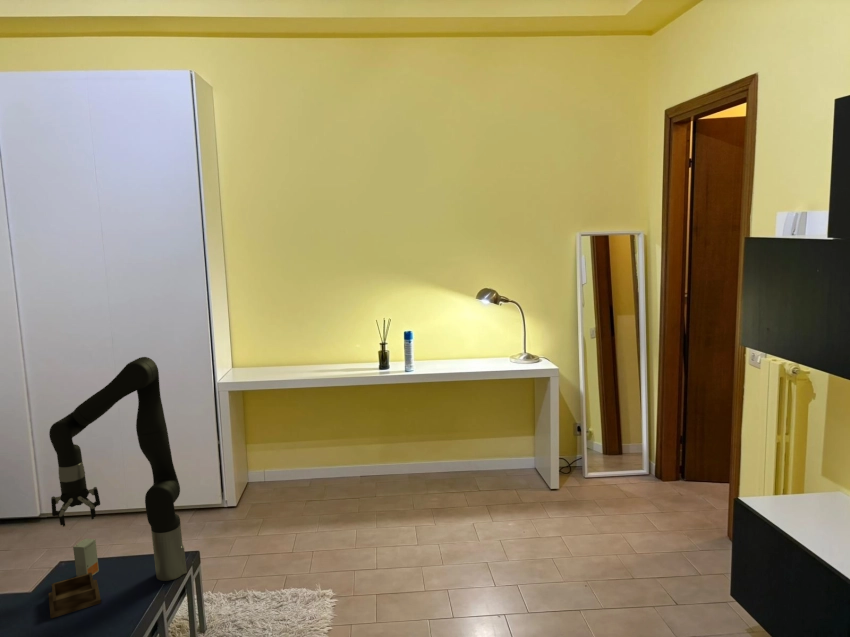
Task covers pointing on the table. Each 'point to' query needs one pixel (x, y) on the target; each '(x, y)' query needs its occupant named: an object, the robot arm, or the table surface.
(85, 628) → the table surface
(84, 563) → the skincare box
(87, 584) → the walnut stand
